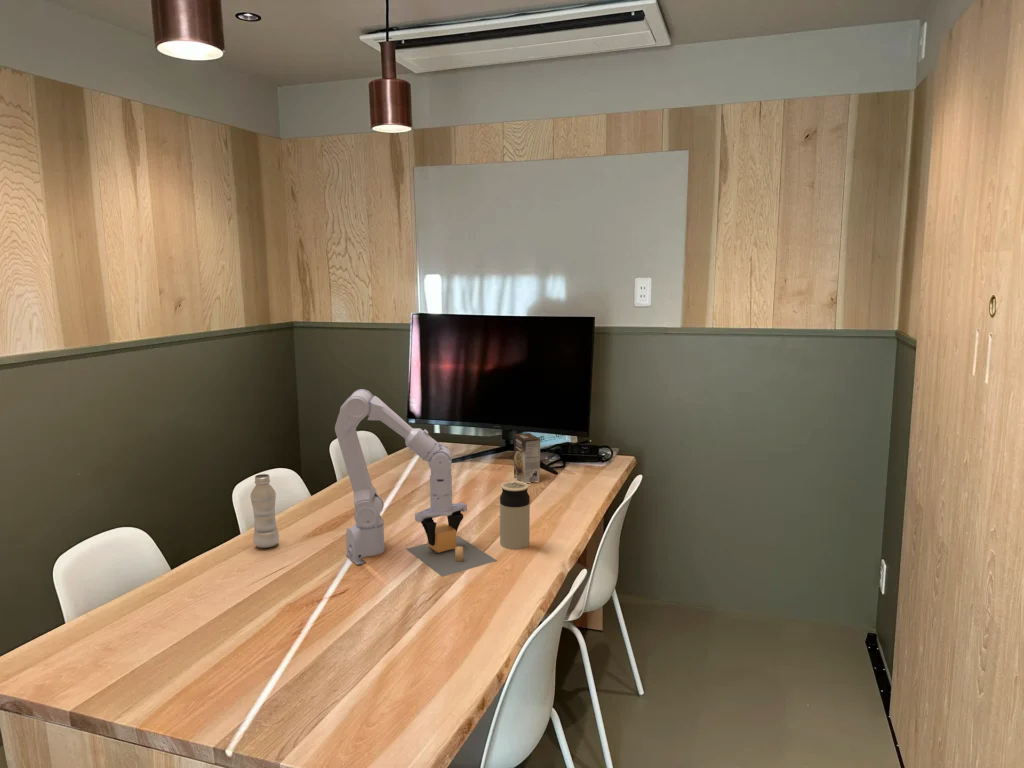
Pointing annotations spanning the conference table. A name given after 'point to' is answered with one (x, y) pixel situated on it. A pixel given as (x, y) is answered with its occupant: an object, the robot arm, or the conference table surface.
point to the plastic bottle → (264, 512)
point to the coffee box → (526, 457)
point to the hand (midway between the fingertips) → (441, 541)
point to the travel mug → (514, 515)
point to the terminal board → (452, 557)
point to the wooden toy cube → (444, 538)
